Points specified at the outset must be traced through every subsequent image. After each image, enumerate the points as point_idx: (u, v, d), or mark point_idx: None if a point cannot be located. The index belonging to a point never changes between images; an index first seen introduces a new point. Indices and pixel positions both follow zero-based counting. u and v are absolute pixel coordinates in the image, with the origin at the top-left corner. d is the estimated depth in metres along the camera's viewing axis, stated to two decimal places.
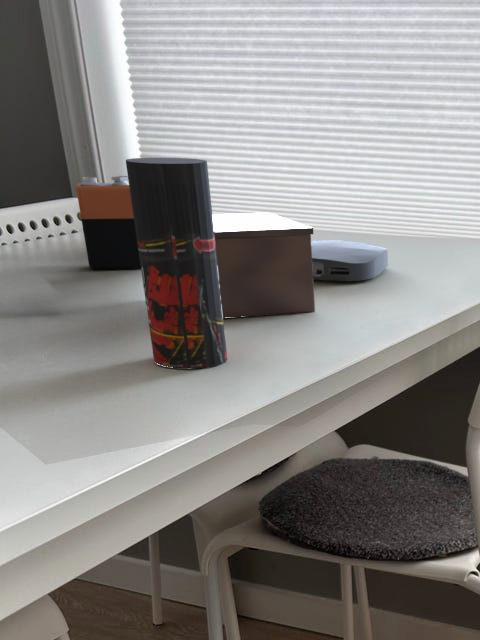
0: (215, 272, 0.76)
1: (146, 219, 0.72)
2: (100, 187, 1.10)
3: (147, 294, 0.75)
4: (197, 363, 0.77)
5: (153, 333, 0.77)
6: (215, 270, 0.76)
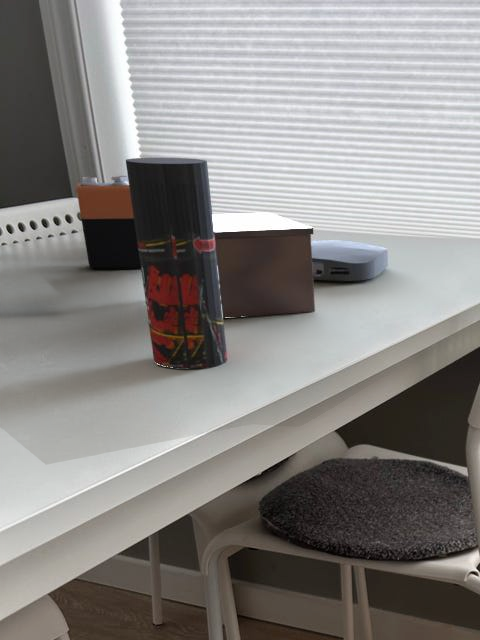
0: (215, 272, 0.76)
1: (146, 219, 0.72)
2: (100, 187, 1.10)
3: (147, 294, 0.75)
4: (197, 363, 0.77)
5: (153, 333, 0.77)
6: (215, 270, 0.76)
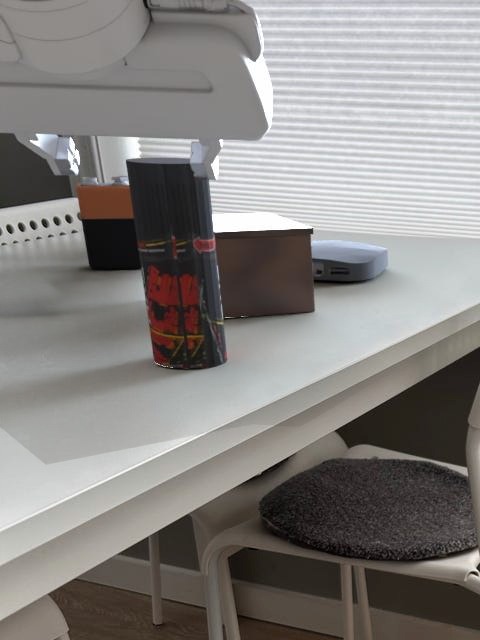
0: (215, 272, 0.76)
1: (146, 219, 0.72)
2: (100, 187, 1.10)
3: (147, 294, 0.75)
4: (197, 363, 0.77)
5: (153, 333, 0.77)
6: (215, 270, 0.76)
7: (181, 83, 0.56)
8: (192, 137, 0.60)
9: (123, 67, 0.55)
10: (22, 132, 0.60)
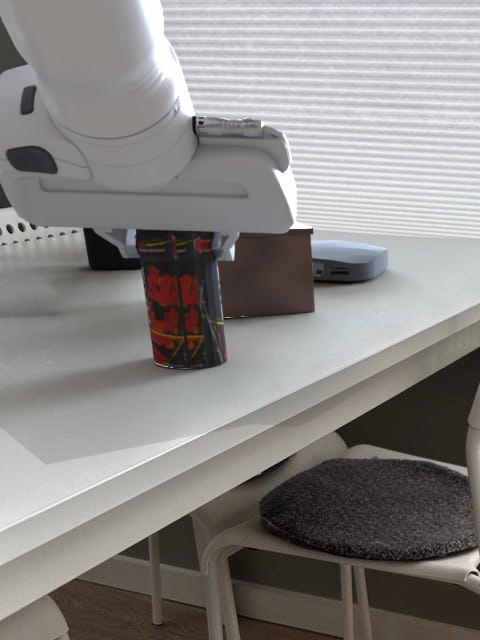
0: (215, 272, 0.76)
1: None
2: None
3: (147, 294, 0.75)
4: (197, 363, 0.77)
5: (153, 333, 0.77)
6: (215, 270, 0.76)
7: (221, 191, 0.67)
8: (228, 231, 0.71)
9: (174, 179, 0.66)
10: (84, 227, 0.70)
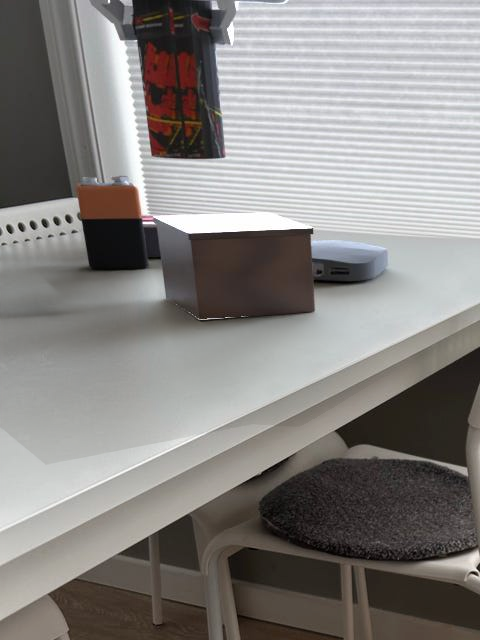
0: (213, 56, 0.75)
1: None
2: (100, 187, 1.10)
3: (144, 77, 0.74)
4: (195, 153, 0.76)
5: (150, 121, 0.75)
6: (213, 54, 0.75)
7: None
8: None
9: None
10: None
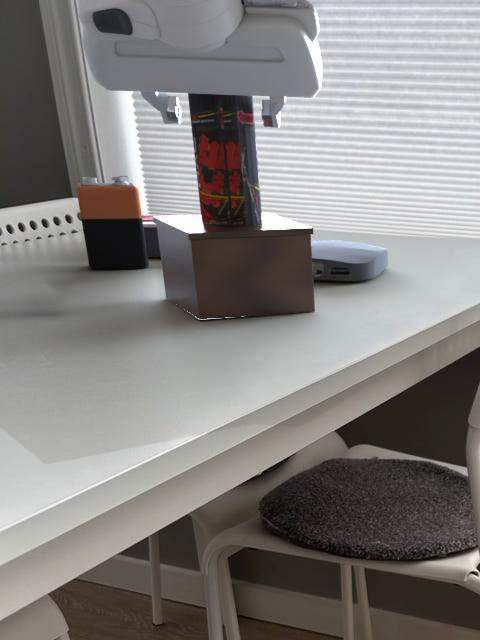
0: (254, 143, 0.91)
1: (199, 94, 0.87)
2: (100, 187, 1.10)
3: (198, 160, 0.91)
4: (238, 221, 0.93)
5: (202, 195, 0.92)
6: (254, 141, 0.91)
7: (262, 56, 0.82)
8: (266, 95, 0.86)
9: (224, 44, 0.81)
10: (148, 91, 0.86)
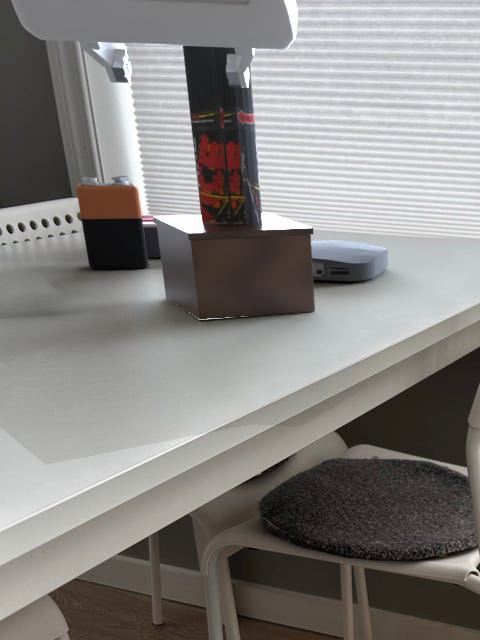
0: (254, 143, 0.91)
1: (199, 94, 0.87)
2: (100, 187, 1.10)
3: (198, 160, 0.91)
4: (238, 221, 0.93)
5: (202, 195, 0.92)
6: (254, 141, 0.91)
7: None
8: (230, 46, 0.72)
9: None
10: (88, 40, 0.71)
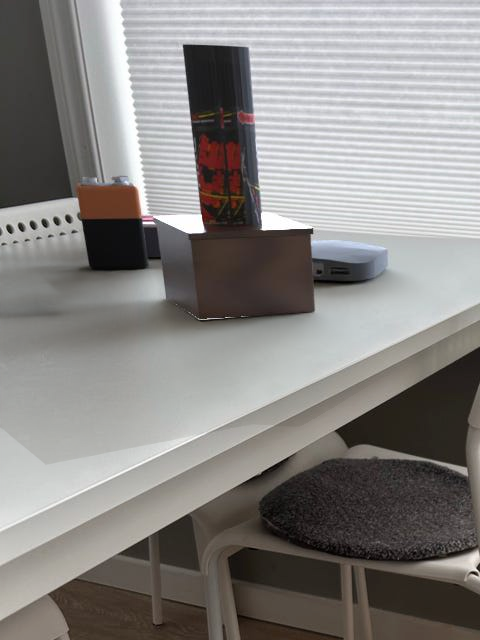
0: (254, 143, 0.91)
1: (199, 94, 0.87)
2: (100, 187, 1.10)
3: (198, 160, 0.91)
4: (238, 221, 0.93)
5: (202, 195, 0.92)
6: (254, 141, 0.91)
7: None
8: None
9: None
10: None
